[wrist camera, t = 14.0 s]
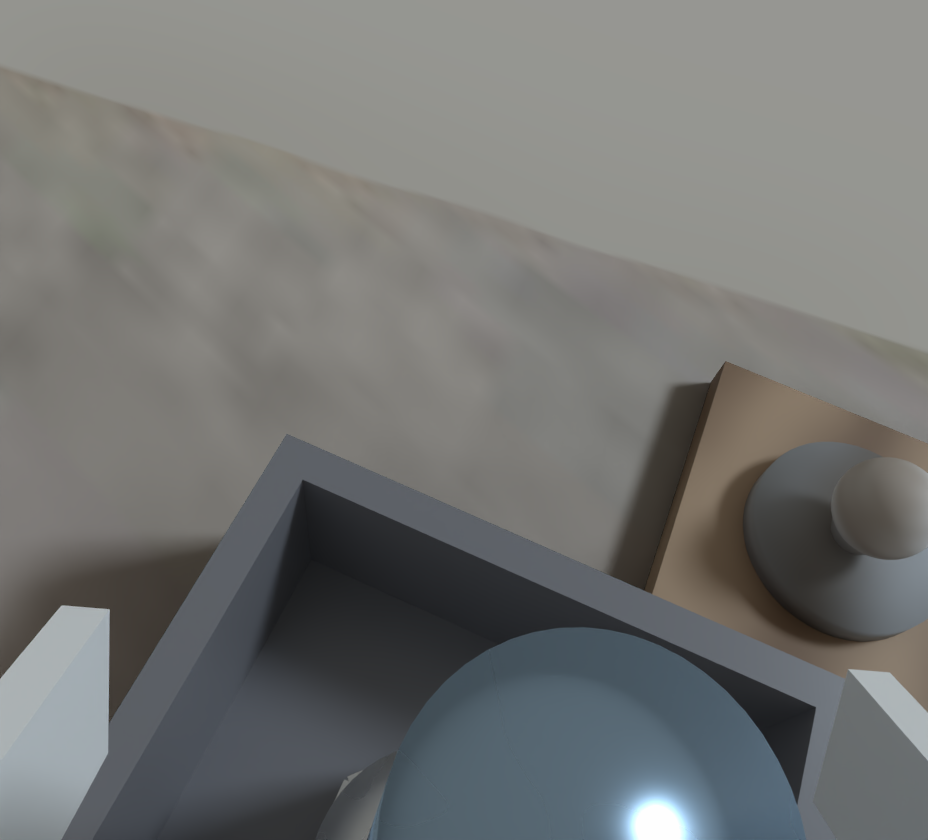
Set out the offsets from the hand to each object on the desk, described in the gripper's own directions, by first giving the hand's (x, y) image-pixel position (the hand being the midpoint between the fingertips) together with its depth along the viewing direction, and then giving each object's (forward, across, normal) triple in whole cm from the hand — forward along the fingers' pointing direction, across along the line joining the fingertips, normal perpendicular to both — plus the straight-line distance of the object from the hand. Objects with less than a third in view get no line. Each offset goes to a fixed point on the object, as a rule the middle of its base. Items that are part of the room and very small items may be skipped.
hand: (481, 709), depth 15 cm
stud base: (+15, +14, -3) cm, 20 cm away
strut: (+6, 0, -10) cm, 12 cm away
